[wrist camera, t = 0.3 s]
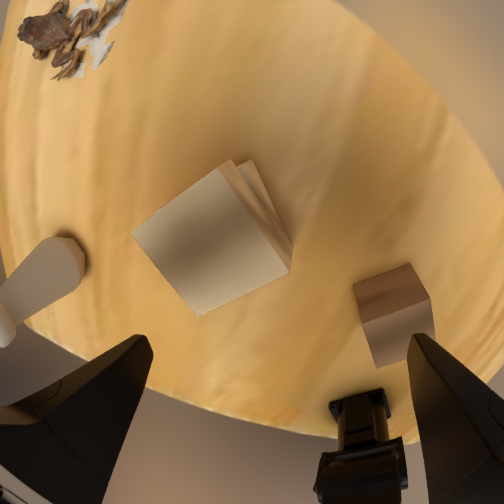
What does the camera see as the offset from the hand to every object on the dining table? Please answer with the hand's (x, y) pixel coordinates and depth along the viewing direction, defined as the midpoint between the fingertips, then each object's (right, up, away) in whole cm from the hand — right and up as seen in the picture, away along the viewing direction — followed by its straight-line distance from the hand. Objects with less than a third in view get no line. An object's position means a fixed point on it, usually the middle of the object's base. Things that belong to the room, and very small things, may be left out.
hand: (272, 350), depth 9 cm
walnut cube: (+11, -1, +14) cm, 17 cm away
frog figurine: (-16, +22, +8) cm, 29 cm away
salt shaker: (-19, +3, +17) cm, 26 cm away
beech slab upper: (-3, +4, +11) cm, 12 cm away
